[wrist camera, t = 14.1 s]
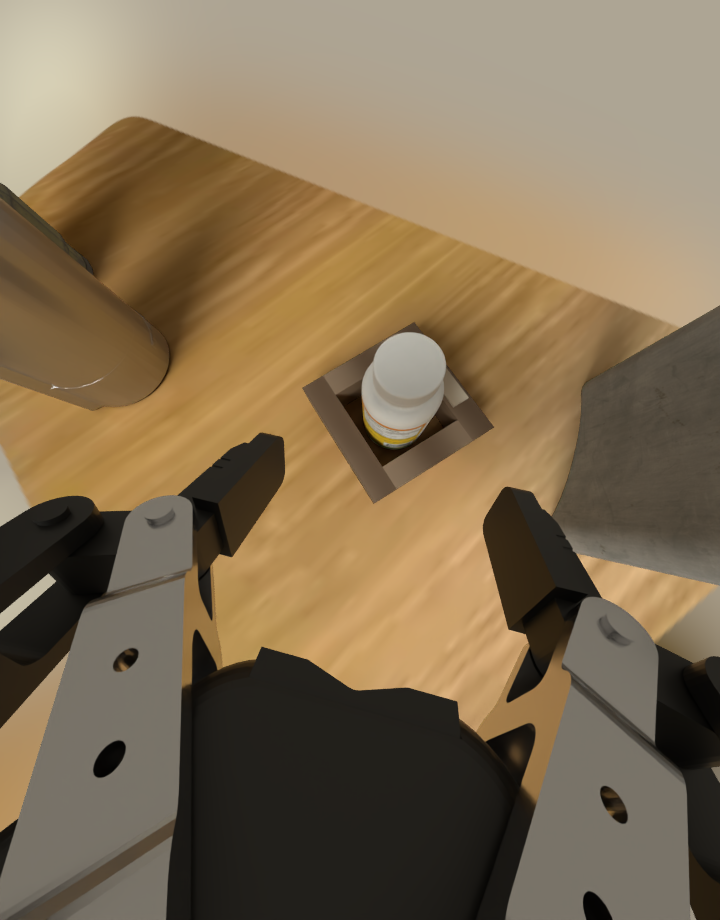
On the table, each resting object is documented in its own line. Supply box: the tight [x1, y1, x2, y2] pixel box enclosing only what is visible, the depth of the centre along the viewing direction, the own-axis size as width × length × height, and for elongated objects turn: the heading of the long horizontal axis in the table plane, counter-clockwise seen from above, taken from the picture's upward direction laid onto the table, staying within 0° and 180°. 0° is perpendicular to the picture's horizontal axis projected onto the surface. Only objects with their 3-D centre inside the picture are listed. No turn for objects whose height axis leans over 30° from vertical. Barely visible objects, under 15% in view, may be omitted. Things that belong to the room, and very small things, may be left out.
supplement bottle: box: [362, 332, 446, 450], centre depth 19 cm, size 5×5×10 cm
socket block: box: [303, 323, 494, 504], centre depth 22 cm, size 11×11×3 cm
